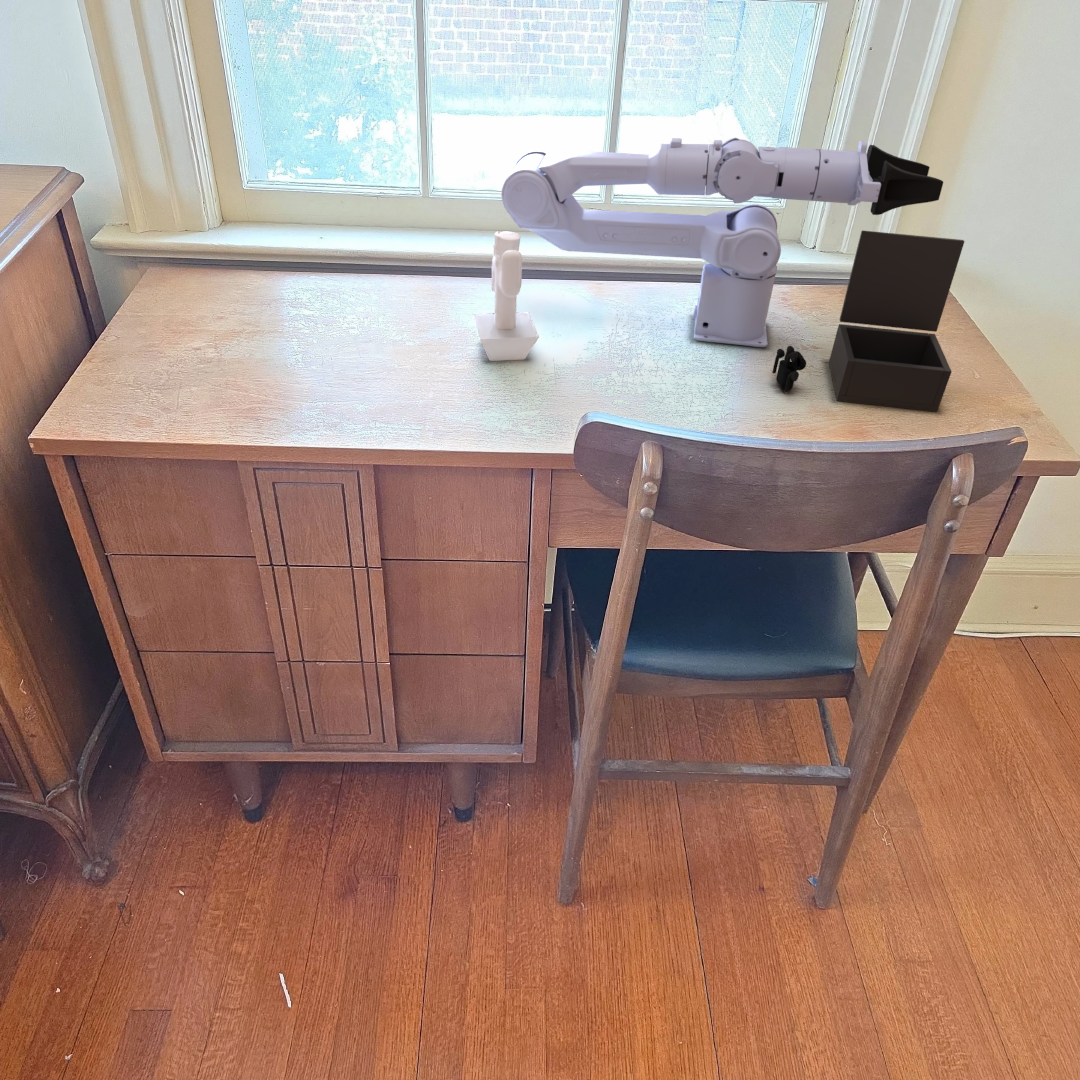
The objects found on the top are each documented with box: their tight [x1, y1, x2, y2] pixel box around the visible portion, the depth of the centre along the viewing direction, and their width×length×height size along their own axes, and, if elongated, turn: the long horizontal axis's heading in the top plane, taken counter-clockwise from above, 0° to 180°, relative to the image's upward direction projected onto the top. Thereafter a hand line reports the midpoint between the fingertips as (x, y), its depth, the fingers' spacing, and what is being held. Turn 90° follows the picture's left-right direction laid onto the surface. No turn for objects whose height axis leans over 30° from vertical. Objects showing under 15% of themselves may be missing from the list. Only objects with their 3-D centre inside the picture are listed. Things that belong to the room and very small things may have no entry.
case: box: [828, 323, 953, 413], centre depth 108 cm, size 10×12×5 cm
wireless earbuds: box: [771, 345, 807, 394], centre depth 107 cm, size 7×2×5 cm, turn 5°
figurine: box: [472, 230, 540, 362], centre depth 108 cm, size 7×9×15 cm
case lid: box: [839, 230, 965, 333], centre depth 107 cm, size 11×12×1 cm
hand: (933, 182), depth 105 cm, fingers open, 7 cm apart
